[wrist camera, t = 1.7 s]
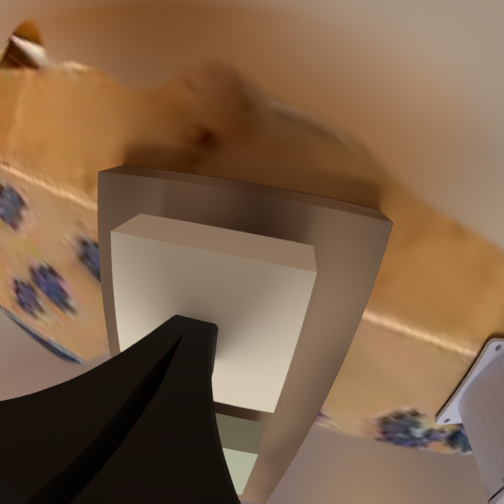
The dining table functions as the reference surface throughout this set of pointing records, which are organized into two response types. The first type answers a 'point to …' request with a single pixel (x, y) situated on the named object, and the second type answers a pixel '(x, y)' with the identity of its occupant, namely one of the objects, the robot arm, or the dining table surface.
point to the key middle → (239, 447)
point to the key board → (276, 226)
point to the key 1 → (216, 297)
